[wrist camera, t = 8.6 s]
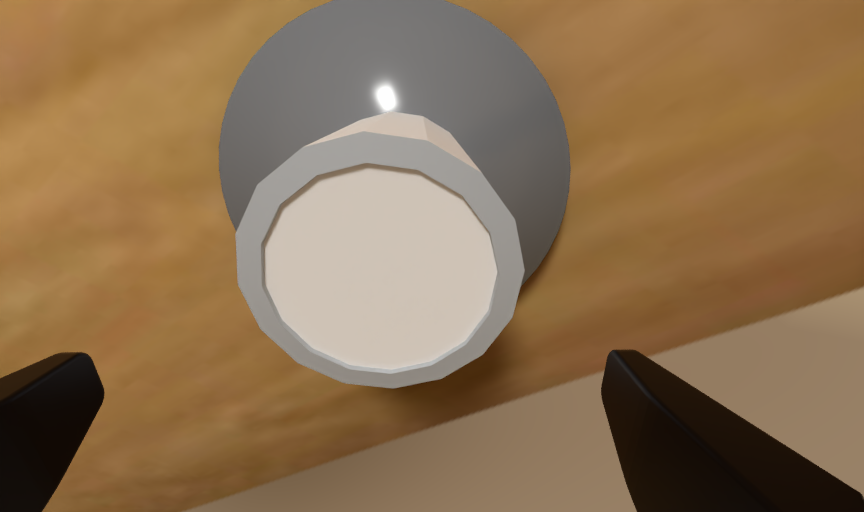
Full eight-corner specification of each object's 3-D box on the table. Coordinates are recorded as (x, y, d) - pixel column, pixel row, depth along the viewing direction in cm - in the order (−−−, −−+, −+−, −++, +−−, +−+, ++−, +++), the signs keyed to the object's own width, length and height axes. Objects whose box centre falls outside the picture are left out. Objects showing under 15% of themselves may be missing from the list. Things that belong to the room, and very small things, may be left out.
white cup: (528, 182, 17) (586, 270, 11) (408, 300, 19) (397, 430, 13) (385, 46, 15) (353, 56, 9) (269, 196, 17) (176, 290, 11)
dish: (584, -7, 15) (595, -10, 14) (543, 318, 21) (549, 333, 20) (197, -5, 15) (180, -8, 14) (261, 319, 21) (252, 334, 20)
